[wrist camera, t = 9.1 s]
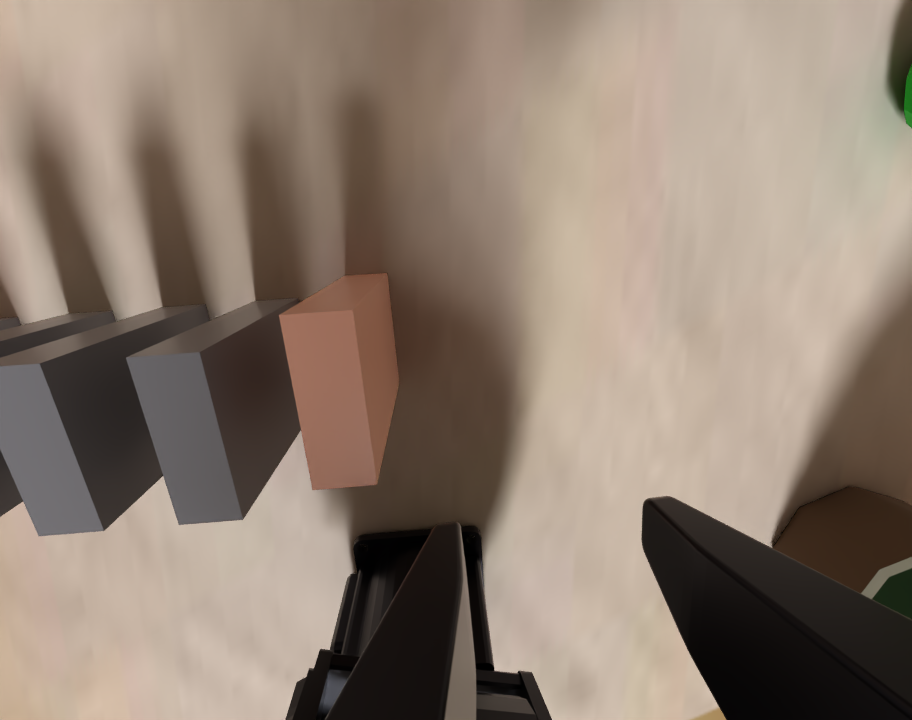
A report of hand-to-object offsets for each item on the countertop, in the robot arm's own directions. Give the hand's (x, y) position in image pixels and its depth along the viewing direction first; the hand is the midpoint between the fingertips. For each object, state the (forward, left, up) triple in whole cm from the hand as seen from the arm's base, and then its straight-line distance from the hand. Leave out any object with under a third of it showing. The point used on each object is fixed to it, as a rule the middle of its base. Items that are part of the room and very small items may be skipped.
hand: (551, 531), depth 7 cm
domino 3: (+12, 0, -13) cm, 18 cm away
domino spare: (+5, -1, -13) cm, 13 cm away
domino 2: (+9, 0, -13) cm, 15 cm away
